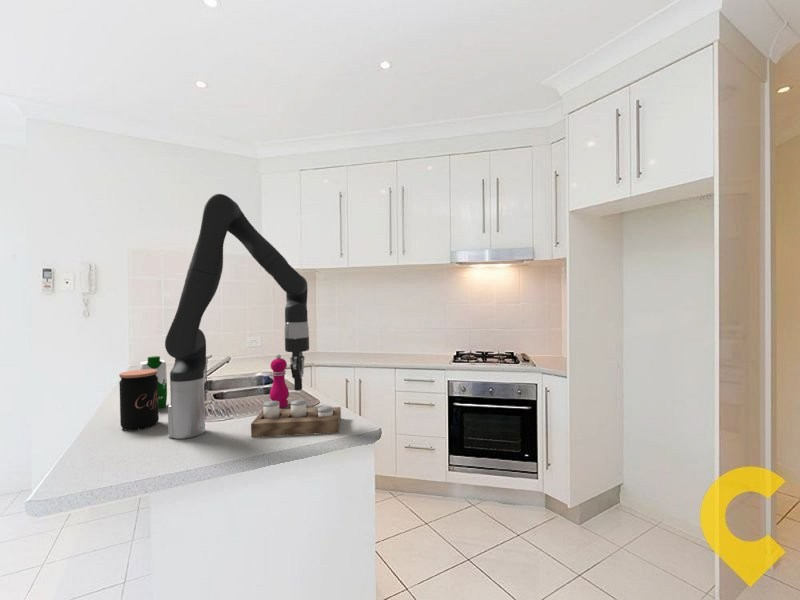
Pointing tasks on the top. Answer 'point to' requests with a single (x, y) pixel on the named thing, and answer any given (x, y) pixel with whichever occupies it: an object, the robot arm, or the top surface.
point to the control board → (296, 423)
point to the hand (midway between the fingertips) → (298, 389)
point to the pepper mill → (279, 382)
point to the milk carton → (162, 377)
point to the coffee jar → (139, 399)
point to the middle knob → (298, 408)
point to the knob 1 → (271, 410)
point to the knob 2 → (325, 411)
